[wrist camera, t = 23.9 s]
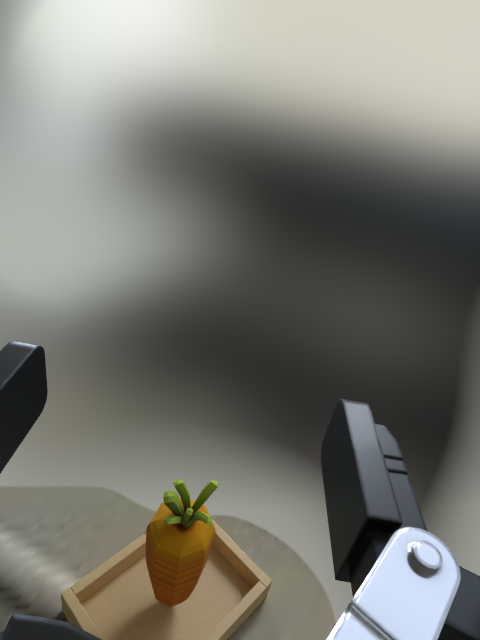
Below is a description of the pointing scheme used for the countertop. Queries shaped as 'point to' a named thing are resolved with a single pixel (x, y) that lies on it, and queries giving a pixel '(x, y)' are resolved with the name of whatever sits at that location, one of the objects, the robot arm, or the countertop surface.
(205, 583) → the tray
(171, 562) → the carrot
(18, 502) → the countertop surface
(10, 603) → the countertop surface
